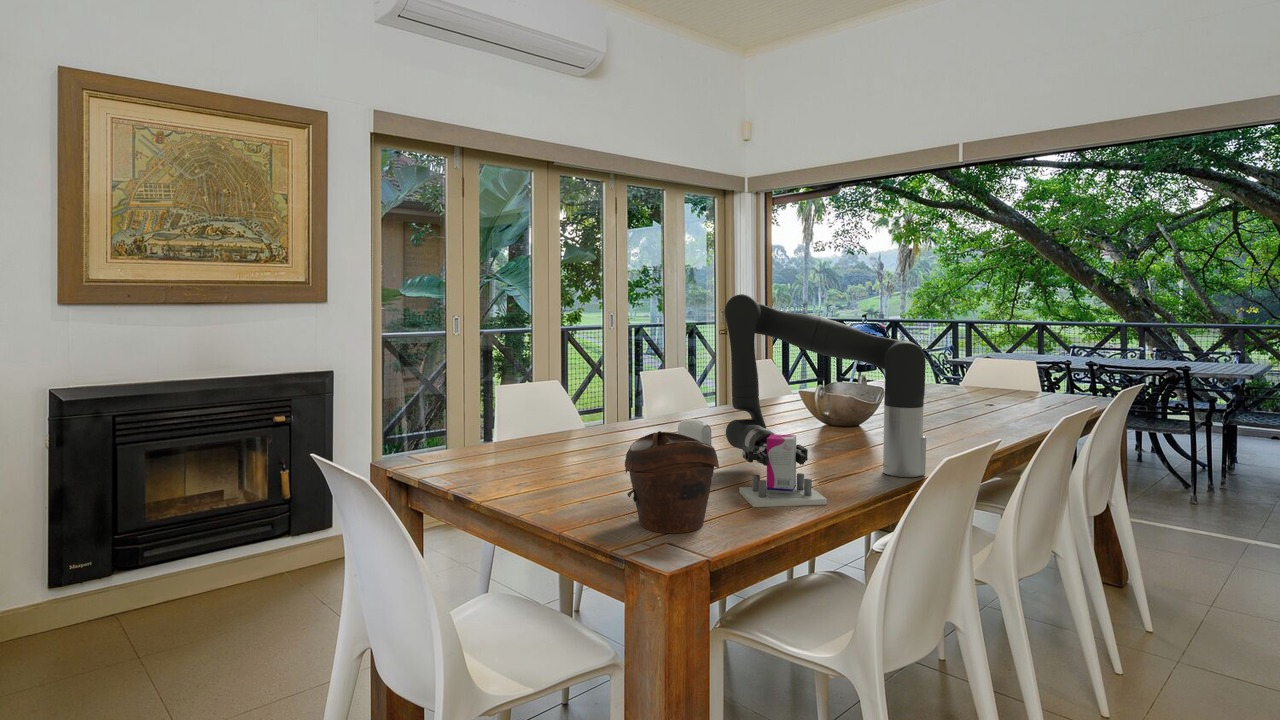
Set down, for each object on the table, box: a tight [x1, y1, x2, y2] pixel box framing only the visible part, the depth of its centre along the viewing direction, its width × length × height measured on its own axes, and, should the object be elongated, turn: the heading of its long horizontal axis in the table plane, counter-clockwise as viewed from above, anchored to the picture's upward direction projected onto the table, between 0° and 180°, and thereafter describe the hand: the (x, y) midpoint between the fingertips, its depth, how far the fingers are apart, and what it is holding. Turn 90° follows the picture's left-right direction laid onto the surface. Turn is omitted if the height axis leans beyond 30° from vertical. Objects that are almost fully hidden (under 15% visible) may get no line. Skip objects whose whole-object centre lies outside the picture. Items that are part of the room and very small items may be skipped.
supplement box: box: [766, 433, 797, 492], centre depth 158 cm, size 6×6×12 cm
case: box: [624, 430, 720, 534], centre depth 141 cm, size 18×20×18 cm
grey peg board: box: [739, 472, 828, 508], centre depth 159 cm, size 16×12×5 cm
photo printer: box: [677, 418, 712, 446], centre depth 192 cm, size 10×4×12 cm, turn 39°
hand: (784, 460), depth 156 cm, fingers closed on supplement box, 7 cm apart
